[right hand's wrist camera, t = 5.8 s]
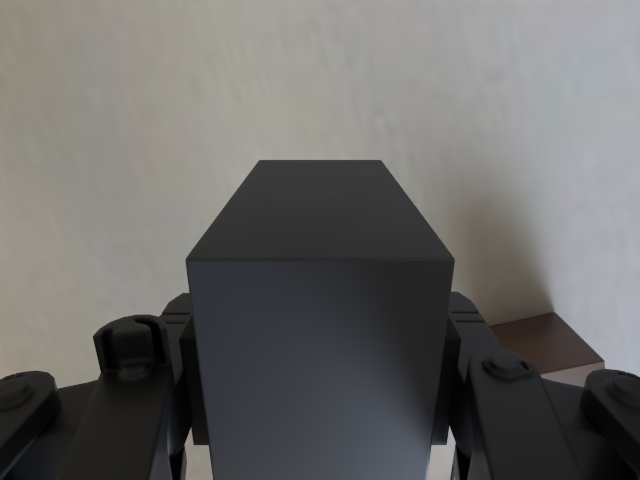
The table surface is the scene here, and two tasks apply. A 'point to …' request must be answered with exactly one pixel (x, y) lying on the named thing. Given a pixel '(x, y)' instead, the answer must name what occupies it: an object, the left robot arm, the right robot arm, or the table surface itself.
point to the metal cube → (550, 348)
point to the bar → (320, 325)
